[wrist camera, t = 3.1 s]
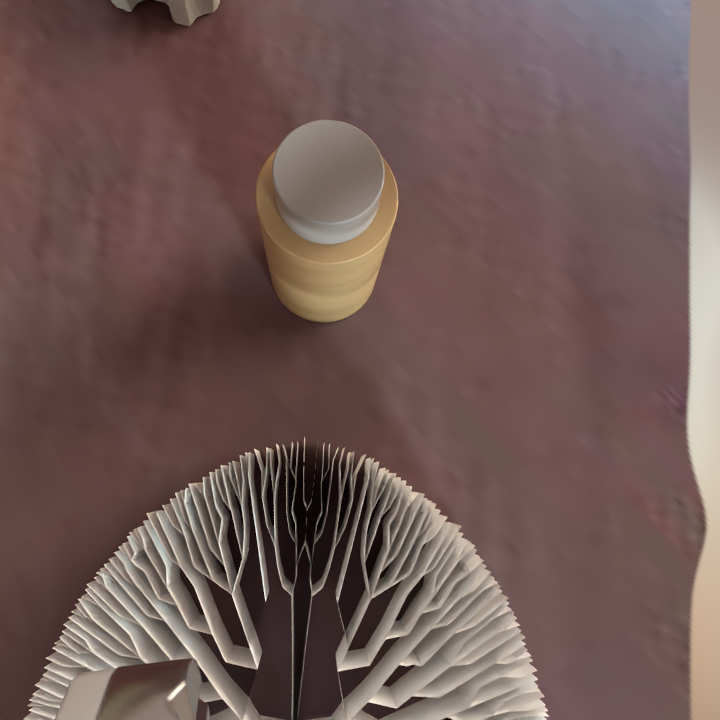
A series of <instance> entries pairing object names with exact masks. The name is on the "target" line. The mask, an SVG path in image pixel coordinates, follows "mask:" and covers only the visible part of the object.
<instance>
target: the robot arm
mask: <svg viewBox="0 0 720 720" xmlns="http://www.w3.org/2000/svg"><path fill="white" fill-rule="evenodd" d="M201 683H202V677H201V674H200V670H199V666H198V663H197V660H195V659H193V658H188V659H180V660H172V661H164V662H155V663H147V664H139V665H131V666H123V667H118V668H115V669H106V670H98V671H89V672H80V673H78V674H77V675H76V677H75V678H74V679H73V680H72V681H71V682H70V684H69V686H68V688H67V691H66V693H65V695H64V698H63V700H62V703H61V705H60V707H59V710H58V712H57V715H56V717H55V719H54V720H211V716H210V712H209V707H208V704H206V703H205V702H204V701H202V700H201V699H200V698H199V695H200V689H201Z"/></svg>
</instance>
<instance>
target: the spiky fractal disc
mask: <svg viewBox="0 0 720 720" xmlns="http://www.w3.org/2000/svg"><path fill="white" fill-rule="evenodd" d="M282 445H283V444H282ZM317 445H318V442H317ZM276 446H277V452H278V459H279V466H278V472H277V478H276V480H275V471H274V450H272V449H271V448H270V449H269V448H267V447H266V470H265V467H264V464H263V461H262V459H261V456H260V453H259V451H258V450H256V449H254V450H255V453H256V456H257V459H258V462H259V465H260V468H261V471H262V501H263V507H264V513H265V519H266V525H267V528H268V530H269V533H270V536H271V538H272V541H273V543H274V546H275V552H276V560H277V567H278V571H279V575H280V580H281V584H282V587H283V588H284V589H285V590H286V591H287V592H288V593H289V594H290V595H291V596H292V720H294V586H295V582H296V578H295V581H294V585H293V584H292V583H291V582H290V581H289V580H288V579H287V578H286V577H285V575H284V571H283V567H282V562H281V558H280V550H279V543H278V504H277V495H278V486H279V479H280V473H281V467H282V461H281V454H280V448H279V446H278V445H277V444H276ZM293 446H294V444H293V442H292V445H291V458H290V469H291V471H292V474H293V476H294V479H295V481H296V484H295V491H294V498H293V504H292V511H291V512H292V515H293V518H294V521H295V530H296V535H295V533H294V531H293V530H292V528H291V522H290V515H289V486H288V457H287V453H286V449H285V447H284V445H283V449H284V453H285V457H286V513H287V520H288V527H289V533H290V535H291V536H292V538H293V540H294V542H295V543H296V577H297V563H298V561H299V558H300V556H301V553H302V550H303V548H304V545H306V549H307V553H308V557H309V561H310V564H311V567H312V559H313V551H314V544H315V543H316V542H317V540H318V539H319V537H320V536H321V534H322V532H323V528H324V524H325V520H326V517H327V511H328V503H329V496H330V488H331V479H332V471H333V463H334V459H335V456H336V454H337V451H338V449H337V450H336V453H335V455H334V458H333V461H332V465H331V473H330V481H329V490H328V497H327V505H326V512H325V516H324V520H323V523H322V527H321V530H320V531H319V532H318V534H317V535H316V528H317V524H318V521H319V519H320V517H321V515H322V487H321V512H320V514H319V516H318V518H317V521H316V528H315V535H314V543H313V551H312V559H311V556H310V552H309V548H308V545H307V541H306V536H305V541H304V543H303V546H302V549H301V551H300V554H299V556H298V559H297V519H296V516H295V512H294V509H293V507H294V500H295V494H296V487H297V466H298V450H299V443H298V442H297V458H296V474H295V475H294V472H293V470H292V458H293ZM338 448H339V447H338ZM344 449H345V447H344V448H343V449H342V452H341V456H340V460H339V464H338V483H339V499H338V506H337V514H336V521H335V528H334V536H333V543H332V547H331V551H330V555H329V559H328V562H327V565H326V568H325V570H324V573H323V576H322V578H321V579H320V580H319V581H317V582H316V583H315V584H314V585H312V580H311V567H310V585H311V591H312V592H311V600H310V608H309V615H308V623H307V631H306V640H305V648H304V657H303V666H302V675H301V684H300V694H299V703H298V712H297V720H298V713H299V704H300V695H301V686H302V677H303V668H304V659H305V651H306V642H307V634H308V627H309V619H310V611H311V604H312V596H314V595H315V594H316V593H317V592H318V591H320V590H321V589H322V588H323V586H324V583H325V581H326V578H327V575H328V572H329V569H330V566H331V562H332V558H333V554H334V550H335V547H336V545H337V543H338V541H339V540H340V538H341V536H342V534H343V532H344V530H345V528H346V524H347V521H348V517H349V513H350V510H351V506H352V503H353V497H354V490H355V482H356V475H357V473H358V471H359V469H360V467H361V464H362V462H363V460H364V458H365V456H366V454H365V455H363V456H361V458H360V460H359V463H358V465H357V467H356V469H355V471H354V473H353V476H352V469H353V460H354V452H352V453H351V452H349V453H348V454H347V460H346V467H345V473H344V477H343V481H342V486H341V471H340V464H341V461H342V457H343V453H344ZM350 453H351V455H350ZM245 454H246V457H244V456H241V455H240V461H241V467H240V463H239V462H236V461H232V462H233V463H229V466H226V465H221V470H220V469H215V471H216V472H210V477H203V483H193V484H189V487H190V488H186V490H180V491H181V492H176V496H177V498H173V499H170V501H171V504H166V505H162V506H163V508H164V511H162V510H159V511H155V512H150V513H146V514H147V516H148V518H149V519H150V520H146V521H143V522H144V524H145V526H141V527H138V528H136V529H134V531H132V532H129V534H130V536H127V538H128V540H129V541H128V542H125V543H123V545H122V546H119V547H118V548H119V549H120V550H119V551H116V552H114V553H115V554H116V555H117V556H115V557H112V558H110V559H109V560H110V561H111V562H109V563H106V564H104V565H105V567H103V568H101V569H100V570H101V571H99V572H97V574H99V575H98V576H96V577H94V578H95V579H96V580H95V581H92V582H90V583H88V584H86V585H87V586H88V587H89V588H87V589H85V590H86V591H87V592H88V593H86V594H85V595H83V596H82V598H80V599H78V600H79V601H80V602H79V603H77V604H75V606H76V607H77V609H75V610H73V611H71V612H72V613H75V614H74V615H72V616H70V617H68V618H69V619H71V620H70V621H68V622H66V623H64V624H63V625H65V626H66V627H67V629H65V630H63V631H62V632H63V633H65V634H64V635H62V636H60V637H59V638H60V640H59V641H57V642H56V643H54V644H58V645H56V646H55V647H53V649H54V650H56V652H54V653H53V654H51V655H50V656H48V657H47V658H46V659H48V660H50V661H52V662H51V663H50V664H48V665H47V666H45V667H44V668H45V669H48V671H47V672H46V673H44V674H43V676H44V677H43V678H41V679H40V680H41V681H39V682H38V683H37V684H35V686H37V687H39V688H40V689H39V690H37V691H36V692H35V693H33V694H32V695H35V696H33V697H32V698H31V699H29V700H30V701H33V702H31V703H30V704H29V705H28V706H34V707H32V708H31V709H30V710H29V711H31V713H30V714H29V715H27V716H26V717H25V718H24V719H25V720H54V719H55V717H56V715H57V712H58V710H59V707H60V705H61V703H62V700H63V698H64V695H65V693H66V691H67V688H68V686H69V684H70V682H71V681H72V680H73V679H74V678H75V677H76V675H77V674H78V673H80V672H89V671H98V670H106V669H115V668H118V667H123V666H131V665H139V664H147V663H155V662H164V661H172V660H178V659H188V658H193V659H195V660H197V663H198V665H199V666H200V668H201V669H202V670H203V672H204V673H205V675H206V676H207V678H208V679H209V680H210V682H205V683H203V682H202V683H201V689H200V695H199V698H200V699H201V700H202V701H204V702H209V701H215V700H220V699H223V700H224V701H225V702H226V704H227V705H228V706H229V708H227V709H225V710H223V711H221V712H219V713H217V714H215V715H213V716H211V720H284V719H278V718H272V717H266V716H260V715H259V714H258V712H257V710H256V709H255V707H254V705H253V703H252V702H251V700H250V697H248V696H247V695H246V694H245V693H244V692H243V691H242V689H241V688H240V687H239V686H238V685H237V684H236V683H235V682H234V681H233V680H232V679H231V677H230V676H229V674H228V673H227V672H226V670H225V669H224V667H223V666H222V664H221V663H220V662H219V660H218V659H217V657H216V656H215V654H214V653H213V652H212V650H211V649H210V647H209V646H208V645H207V643H206V642H205V640H204V639H203V638H202V637H201V635H200V634H199V633H198V631H200V632H204V633H208V634H212V635H213V637H214V639H215V641H216V643H217V646H218V648H219V650H220V652H221V654H222V656H223V658H224V660H225V662H227V663H231V664H236V665H240V666H244V667H248V668H253V669H258V666H259V662H260V658H261V655H262V649H261V646H260V643H259V640H258V637H257V634H256V631H255V628H254V625H253V623H252V620H251V617H250V614H249V611H248V608H247V605H246V602H245V599H244V596H243V593H242V591H241V588H240V585H239V583H240V580H241V576H242V573H243V569H244V566H245V562H246V559H247V556H248V552H249V541H250V515H249V508H248V492H249V485H250V492H251V499H252V507H253V514H254V521H255V529H256V536H257V543H258V551H259V558H260V566H261V573H262V580H263V588H264V595H265V602H266V599H267V597H268V594H269V591H270V589H269V581H268V574H267V567H266V559H265V552H264V545H263V538H262V530H261V523H260V516H259V509H258V501H257V494H256V487H255V479H254V459H255V454H253V453H250V452H249V453H246V452H245ZM316 456H317V453H316ZM329 458H330V444H329V446H328V470H329ZM323 459H324V445H323ZM304 460H305V437H304ZM349 460H350V464H349ZM373 461H374V458H373V459H371V458H368V459H365V471H364V481H363V485H362V489H361V493H360V497H359V501H358V505H357V509H356V513H355V517H354V521H353V525H352V528H351V532H350V536H349V540H348V544H347V548H346V552H345V556H344V560H343V564H342V568H341V572H340V576H339V580H338V583H337V587H336V591H335V594H336V599H337V604H338V600H339V596H340V592H341V588H342V585H343V581H344V577H345V573H346V569H347V565H348V561H349V557H350V553H351V549H352V545H353V541H354V537H355V533H356V529H357V525H358V521H359V517H360V513H361V509H362V505H363V502H364V498H365V494H366V490H367V486H368V491H367V509H366V513H365V516H364V520H363V524H362V531H361V547H360V557H361V563H362V569H363V575H364V581H365V587H366V589H365V591H364V593H363V595H362V597H361V599H360V601H359V604H358V606H357V608H356V610H355V612H354V614H353V617H352V619H351V621H350V623H349V625H348V627H347V629H346V632H345V630H344V632H345V634H344V636H343V638H342V640H341V642H340V644H339V647H338V649H337V651H336V653H335V655H336V662H337V670H338V671H343V670H349V669H354V668H360V667H365V666H370V664H371V663H372V661H373V659H374V658H375V656H376V654H377V653H378V651H379V649H380V648H381V646H382V644H383V643H384V641H385V639H390V638H395V637H400V636H401V637H400V638H399V639H398V640H397V641H396V643H395V644H394V645H393V646H392V647H391V648H390V649H389V651H388V652H387V653H386V654H385V655H384V656H383V658H382V659H381V660H380V661H379V662H378V664H377V665H376V666H375V667H374V668H373V670H372V671H371V672H370V673H369V674H368V676H367V677H366V678H365V679H364V680H363V681H362V682H361V683H360V684H359V685H358V686H357V687H356V688H355V689H354V690H353V691H352V692H351V693H350V694H349V695H348V696H347V697H346V698H345V699H343V698H342V702H341V703H340V705H339V706H338V708H337V709H336V710H335V712H334V713H333V714H332V716H331V717H325V718H317V719H309V720H378V719H376V718H375V717H373V716H371V715H369V714H367V713H365V712H364V711H362V710H361V709H362V708H363V707H364V706H365V705H366V704H367V703H368V702H370V703H374V704H379V705H383V706H387V707H392V708H396V709H397V708H398V707H400V706H401V705H402V704H403V703H404V702H406V701H407V700H408V699H409V698H411V697H412V696H418V697H428V698H426V699H423V700H421V701H419V702H417V703H414V704H412V705H410V706H408V707H406V708H403V709H401V710H399V711H397V712H394V713H392V714H390V715H388V716H385V717H383V718H381V719H379V720H441V719H444V718H446V717H447V718H450V719H452V720H546V719H545V718H544V717H543V716H548V715H547V714H546V713H545V712H546V711H548V710H547V709H546V708H545V707H544V706H546V705H545V704H544V703H543V702H542V701H541V700H540V698H542V697H545V696H544V695H543V694H542V693H541V692H540V690H539V689H538V688H537V687H539V686H538V685H537V684H536V683H535V682H534V681H536V680H538V679H537V678H536V677H535V676H534V675H533V674H532V673H533V672H535V671H538V670H536V669H535V668H534V667H533V666H532V665H531V664H529V662H531V661H533V660H532V659H531V658H529V657H530V656H531V655H530V654H529V653H527V652H526V651H527V649H526V648H525V647H524V645H526V644H525V643H524V642H522V641H521V640H522V639H524V638H526V637H524V636H523V635H522V634H520V633H519V632H521V630H520V629H519V628H517V627H516V626H519V624H518V623H517V622H515V620H516V619H517V618H516V617H515V616H513V614H514V612H513V611H511V610H512V609H510V608H509V607H507V605H508V604H509V602H507V601H506V600H507V599H508V597H506V596H505V595H503V594H501V592H502V590H500V589H498V588H499V587H501V586H500V585H498V584H497V583H498V582H496V581H495V580H494V579H495V578H494V577H492V576H490V575H489V574H490V573H491V572H490V571H488V570H486V569H484V568H485V567H487V565H485V564H483V563H482V562H483V561H484V560H482V559H480V556H478V555H475V552H476V549H474V547H475V546H476V545H473V544H471V542H470V541H468V540H466V539H464V538H461V537H462V535H463V533H460V532H458V530H459V529H460V527H461V526H460V525H457V524H454V523H451V522H445V520H446V519H447V517H446V516H443V515H439V513H440V511H441V510H438V509H434V508H435V506H436V503H431V502H432V501H428V500H427V498H424V496H425V494H422V493H418V492H411V490H412V486H405V484H406V481H400V480H401V477H396V474H397V473H389V470H385V469H386V468H380V469H379V471H378V474H377V477H376V473H377V469H378V465H379V462H375V463H373ZM372 465H373V466H372ZM270 467H271V476H272V485H273V494H274V528H273V526H272V523H271V520H270V514H269V508H268V502H267V496H266V495H267V489H268V483H269V477H270ZM315 467H316V465H315ZM241 468H242V471H241ZM348 468H349V474H348V481H349V502H348V505H347V509H346V512H345V516H344V520H343V523H342V525H341V527H340V529H339V531H338V533H337V528H338V520H339V513H340V506H341V499H342V495H343V491H344V486H345V482H346V477H347V473H348ZM328 470H327V472H328ZM327 472H326V473H325V475H326V474H327ZM325 475H324V477H325ZM322 477H323V460H322ZM324 477H323V479H324ZM375 477H376V479H375ZM314 478H315V476H314ZM323 479H322V478H321V483H322V481H323ZM374 481H375V482H374ZM233 486H234V488H233ZM313 486H314V484H313ZM234 489H235V492H236V494H237V497H238V499H239V502H240V504H241V507H242V514H243V520H244V530H243V526H242V521H241V517H240V512H239V508H238V506H237V502H236V497H235V493H234ZM382 491H383V493H382ZM381 493H382V496H381V499H380V502H379V505H378V508H377V511H376V513H375V515H374V518H373V521H372V524H371V527H370V530H369V532H368V535H367V528H368V524H369V521H370V517H371V513H372V511H373V509H374V507H375V505H376V503H377V501H378V499H379V497H380V495H381ZM312 494H313V492H312ZM303 496H304V468H303ZM205 500H206V501H205ZM311 501H312V500H311ZM224 502H225V504H226V505H227V506H228V508H229V509H230V510H231V512H232V517H233V521H234V526H235V530H236V535H237V539H238V543H239V547H240V551H241V555H242V562H241V565H240V568H239V572H238V575H237V573H236V569H235V565H234V561H233V558H232V554H231V550H230V547H229V543H228V539H227V533H228V526H229V519H230V514H229V512H228V510H227V509H226V507H225V505H224ZM206 503H207V504H206ZM304 504H305V506H306V509H308V507H309V506H310V504H311V502H310V503H309V505H308V507H307V505H306V502H305V500H304ZM408 506H409V507H408ZM407 507H408V509H407ZM389 508H390V510H389V512H388V514H387V515H386V517H385V518H384V520H383V521H382V525H383V544H382V547H381V549H380V552H379V554H378V557H377V559H376V562H375V565H374V567H373V570H372V573H371V575H370V578H369V581H368V578H367V572H366V566H365V562H366V559H367V556H368V553H369V551H370V548H371V545H372V543H373V540H374V537H375V534H376V531H377V528H378V525H379V522H380V519H381V517H382V516H383V515H384V514H385V513H386V511H387V510H388V509H389ZM406 510H407V511H406ZM405 512H406V514H405ZM404 515H405V516H404ZM403 517H404V518H403ZM221 518H222V519H221ZM402 519H403V520H402ZM391 522H392V523H391ZM306 524H307V519H306ZM390 524H391V525H390ZM400 524H401V525H400ZM389 525H390V527H389ZM274 529H275V531H274ZM181 533H182V534H183V535H184V536H185V539H186V542H187V545H186V543H185V541H184V538H183V536H182V534H181ZM315 536H316V537H315ZM366 536H367V538H366ZM425 543H427V544H426V545H425V547H424V549H423V550H422V552H421V554H420V556H419V553H420V551H421V548H422V546H423V545H424V544H425ZM187 546H188V547H187ZM418 556H419V557H418ZM216 557H217V558H218V559H219V560H220V562H221V563H222V564H223V565H224V566H225V570H226V574H227V575H226V574H225V573H224V572H222V570H221V568H220V565H219V563H218V560H217V558H216ZM417 558H418V559H417ZM416 560H417V561H416ZM390 563H391V564H390ZM389 564H390V566H389V568H388V570H387V572H386V574H385V576H384V577H383V578H381V579H380V580H378V579H379V577H380V574H381V572H382V571H383V570H384V569H385V568H386V567H387V566H388V565H389ZM180 567H181V569H182V570H183V571H184V573H185V574H186V576H187V577H188V579H189V580H190V582H191V583H192V585H193V586H194V588H195V591H196V593H197V596H198V599H199V601H200V604H201V606H202V609H203V612H204V614H205V616H204V615H200V613H199V611H198V609H197V607H196V605H195V603H194V601H193V599H192V597H191V595H190V593H189V591H188V590H187V588H186V586H185V584H184V583H183V581H182V579H181V578H180ZM203 574H204V575H206V576H207V577H208V578H210V579H211V580H212V581H214V582H215V583H216V584H218V585H219V586H220V587H222V588H223V589H225V590H226V591H227V592H229V593H230V594H231V595H232V597H233V600H234V603H235V606H236V609H237V612H238V614H239V617H240V620H241V623H242V626H243V629H244V632H245V635H246V638H247V641H248V644H249V647H250V648H245V647H241V646H237V645H233V643H232V640H231V638H230V636H229V634H228V632H227V630H226V628H225V626H224V624H223V622H222V620H221V617H220V614H219V612H218V609H217V607H216V604H215V601H214V599H213V596H212V594H211V591H210V588H209V586H208V583H207V581H206V578H205V576H204V575H203ZM423 575H424V582H423V586H422V587H421V589H420V590H419V592H418V593H417V594H416V596H415V597H414V599H413V600H412V601H411V603H410V605H409V606H408V608H407V609H406V611H405V613H404V614H403V616H402V617H401V619H400V620H399V621H395V619H396V617H397V615H398V613H399V611H400V609H401V607H402V605H403V603H404V601H405V599H406V597H407V595H408V594H409V592H410V591H411V590H412V589H413V588H414V586H415V585H416V584H417V583H418V581H419V580H420V579H421V578H422V576H423ZM401 580H402V581H401ZM399 581H401V582H400V583H399V585H398V587H397V589H396V591H395V593H394V595H393V597H392V599H391V601H390V603H389V605H388V607H387V609H386V611H385V613H384V615H383V617H382V619H381V621H380V623H379V625H378V626H377V628H376V630H375V631H374V633H373V635H372V636H371V638H370V640H369V641H368V643H367V645H366V646H365V648H363V649H357V650H351V651H347V650H348V648H349V646H350V644H351V642H352V640H353V637H354V635H355V633H356V631H357V629H358V627H359V624H360V622H361V620H362V618H363V616H364V614H365V611H366V609H367V607H368V605H369V603H370V601H371V599H372V598H374V597H375V596H377V595H379V594H380V593H382V592H383V591H385V590H387V589H388V588H390V587H391V586H393V585H395V584H396V583H398V582H399ZM338 608H339V606H338ZM339 612H340V610H339ZM340 616H341V614H340ZM341 620H342V618H341ZM342 624H343V622H342ZM343 628H344V626H343ZM399 665H402V666H410V665H416V666H415V667H414V668H412V669H411V670H410V671H408V672H407V673H406V674H404V675H403V676H402V677H401V678H399V679H398V680H397V681H396V682H394V683H393V684H392V685H391V686H390V687H387V686H383V684H384V683H385V681H386V680H387V679H388V678H389V676H390V675H391V674H392V673H393V672H394V670H395V669H396V668H397V667H398V666H399ZM256 673H257V672H256ZM338 676H339V673H338ZM339 682H340V679H339ZM340 689H341V686H340ZM341 695H342V692H341Z"/></svg>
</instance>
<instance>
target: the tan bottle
mask: <svg viewBox="0 0 720 720" xmlns="http://www.w3.org/2000/svg"><path fill="white" fill-rule="evenodd" d="M255 201H256V208H257V213H258V218H259V223H260V228H261V232H262V237H263V242H264V247H265V252H266V257H267V261H268V266H269V271H270V276H271V281H272V284H273V288H274V290H275V292H276V294H277V296H278V298H279V299H280V301H281V302H282V303H283V304H284V305H285V306H286V307H287V308H288V309H289V310H290V311H291V312H293V313H294V314H296V315H298V316H300V317H302V318H304V319H307V320H311V321H315V322H333V321H337V320H341V319H344V318H346V317H348V316H350V315H352V314H353V313H355V312H356V311H357V310H359V309H360V308H361V307H362V306H363V305H364V304H365V302H366V301H367V300H368V298H369V296H370V294H371V292H372V290H373V287H374V284H375V281H376V278H377V275H378V272H379V268H380V265H381V262H382V259H383V256H384V253H385V250H386V246H387V243H388V240H389V237H390V234H391V231H392V228H393V225H394V221H395V218H396V214H397V210H398V190H397V184H396V181H395V178H394V175H393V173H392V171H391V169H390V167H389V166H388V164H387V163H386V161H385V160H384V159H383V157H382V156H381V154H380V152H379V150H378V148H377V147H376V145H375V143H374V142H373V141H372V140H371V139H370V138H369V137H368V136H367V135H366V134H365V133H364V132H362V131H361V130H360V129H358V128H356V127H354V126H352V125H350V124H347V123H344V122H341V121H335V120H318V121H313V122H309V123H307V124H304V125H302V126H300V127H298V128H296V129H295V130H293V131H292V132H291V133H290V134H288V135H287V136H286V137H285V138H284V140H283V141H282V142H281V143H280V145H279V147H278V148H277V149H276V150H275V151H274V152H273V153H272V154H271V156H270V157H269V158H268V159H267V161H266V162H265V164H264V165H263V167H262V170H261V172H260V174H259V177H258V180H257V185H256V191H255Z"/></svg>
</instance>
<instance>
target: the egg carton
mask: <svg viewBox="0 0 720 720" xmlns="http://www.w3.org/2000/svg"><path fill="white" fill-rule="evenodd" d="M142 1H145V0H111V2H112V3H113V4H114V5H115V6H116V7H117V8H121V9H124V10H125V11H127V12H131V11H132V10H133V8H134V7H135V6H136V4H137V3H139V2H142ZM156 1H161V2H164V3H166V4H167V5H168V6H169V8H170V11H171V14H172V18H173V20H174V21H175V22H176V23H178V24H182V25H185V26H190V25H191V24H192V23H193V22H194V20H195V19H196V18H197V17H199V16H201V15H204V14H207V13H213V12H214V11H215V10H216V9H217V8H218V6H219V2H220V0H156Z"/></svg>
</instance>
